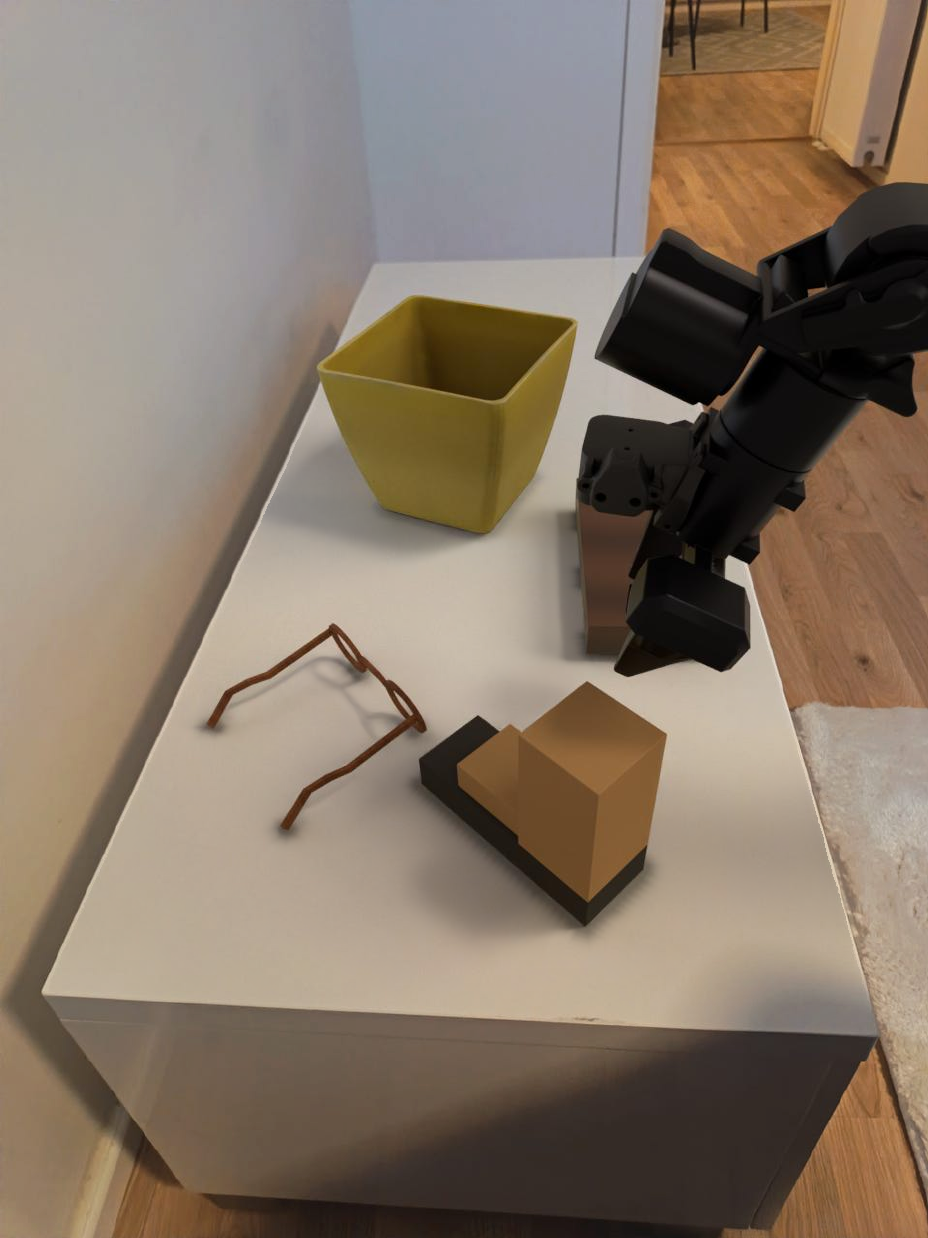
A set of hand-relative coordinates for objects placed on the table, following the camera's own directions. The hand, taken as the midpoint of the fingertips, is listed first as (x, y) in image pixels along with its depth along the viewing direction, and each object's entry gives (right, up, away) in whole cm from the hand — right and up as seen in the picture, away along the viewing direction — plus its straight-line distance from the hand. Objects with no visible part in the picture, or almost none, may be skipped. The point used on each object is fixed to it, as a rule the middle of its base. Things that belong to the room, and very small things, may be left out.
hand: (627, 622), depth 57 cm
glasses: (-22, -9, +12) cm, 27 cm away
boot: (-6, -14, +5) cm, 16 cm away
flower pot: (-11, +14, +37) cm, 41 cm away
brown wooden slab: (+5, +4, +25) cm, 25 cm away
